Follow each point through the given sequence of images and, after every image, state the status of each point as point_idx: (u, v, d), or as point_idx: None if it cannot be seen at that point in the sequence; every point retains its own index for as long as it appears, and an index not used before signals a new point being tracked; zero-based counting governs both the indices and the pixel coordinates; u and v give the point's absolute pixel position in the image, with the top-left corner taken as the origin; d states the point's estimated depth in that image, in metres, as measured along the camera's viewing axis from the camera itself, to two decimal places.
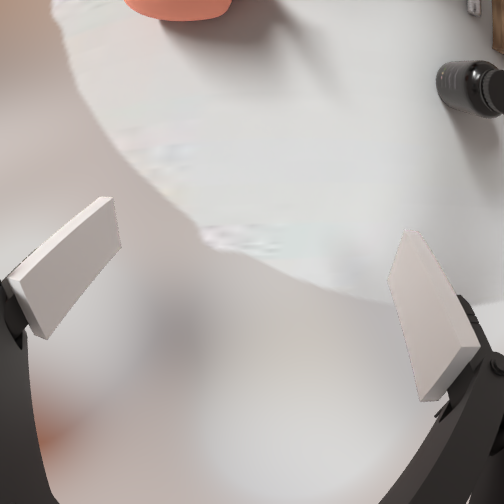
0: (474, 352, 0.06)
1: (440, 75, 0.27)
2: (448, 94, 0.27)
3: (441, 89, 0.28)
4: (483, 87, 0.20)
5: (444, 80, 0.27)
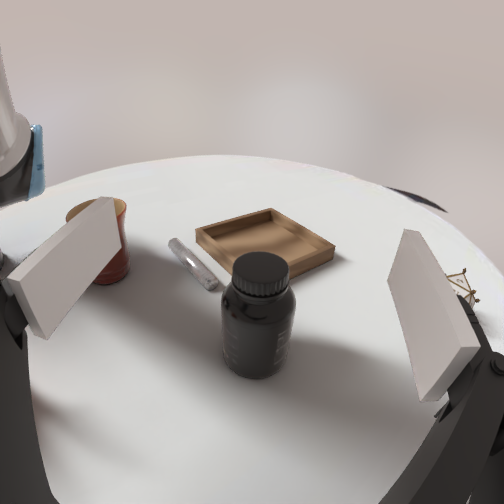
0: (474, 352, 0.06)
1: (226, 357, 0.30)
2: (245, 359, 0.27)
3: (239, 366, 0.28)
4: (240, 287, 0.25)
5: (229, 352, 0.28)
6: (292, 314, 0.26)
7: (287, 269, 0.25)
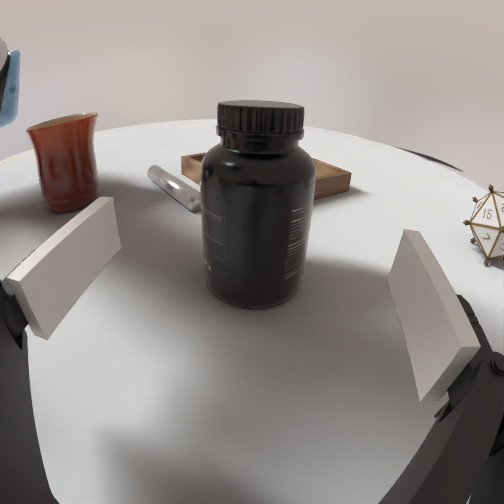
0: (474, 352, 0.06)
1: (208, 272, 0.19)
2: (237, 264, 0.17)
3: (228, 283, 0.18)
4: (229, 123, 0.15)
5: (212, 258, 0.18)
6: (312, 180, 0.16)
7: (301, 106, 0.15)
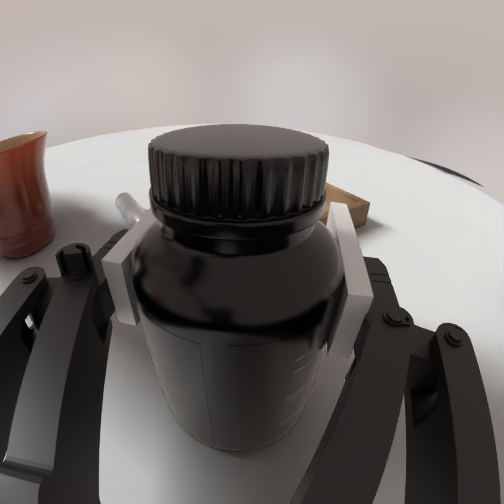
0: (368, 302, 0.08)
1: None
2: (203, 418, 0.09)
3: (193, 428, 0.11)
4: (164, 191, 0.07)
5: (166, 395, 0.10)
6: (337, 295, 0.08)
7: (322, 144, 0.07)
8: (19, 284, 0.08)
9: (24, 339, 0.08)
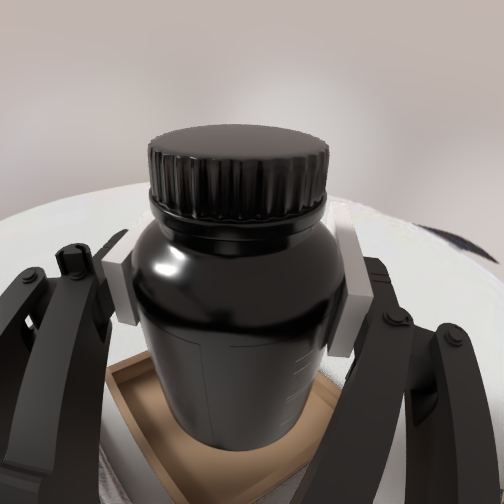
0: (368, 302, 0.08)
1: None
2: (203, 419, 0.09)
3: (193, 429, 0.10)
4: (164, 192, 0.07)
5: (166, 396, 0.10)
6: (338, 296, 0.08)
7: (323, 144, 0.07)
8: (19, 284, 0.08)
9: (24, 339, 0.08)
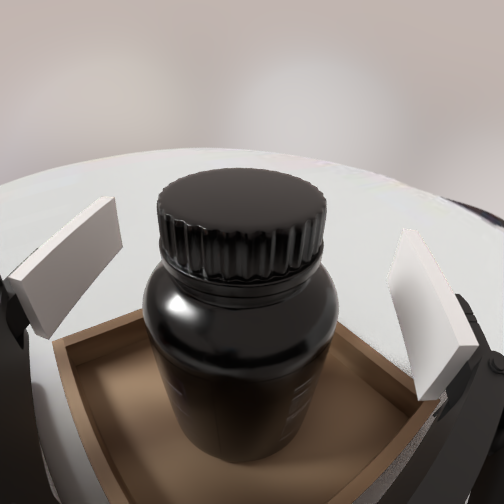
0: (472, 351, 0.06)
1: None
2: (212, 436, 0.10)
3: (202, 443, 0.11)
4: (175, 251, 0.08)
5: (178, 415, 0.11)
6: (332, 333, 0.09)
7: (321, 199, 0.08)
8: None
9: None
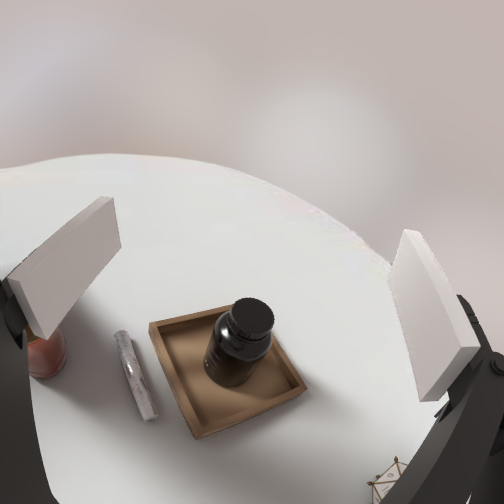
0: (474, 352, 0.06)
1: (205, 365, 0.36)
2: (221, 373, 0.34)
3: (214, 376, 0.35)
4: (233, 328, 0.31)
5: (209, 364, 0.35)
6: (266, 352, 0.33)
7: (272, 322, 0.32)
8: None
9: None
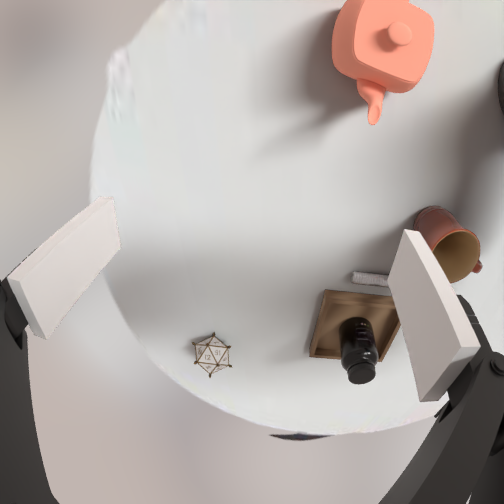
0: (474, 352, 0.06)
1: (362, 322, 0.53)
2: (351, 330, 0.52)
3: (353, 323, 0.53)
4: (363, 364, 0.46)
5: (360, 327, 0.52)
6: (341, 363, 0.51)
7: (350, 381, 0.47)
8: None
9: None
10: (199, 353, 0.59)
